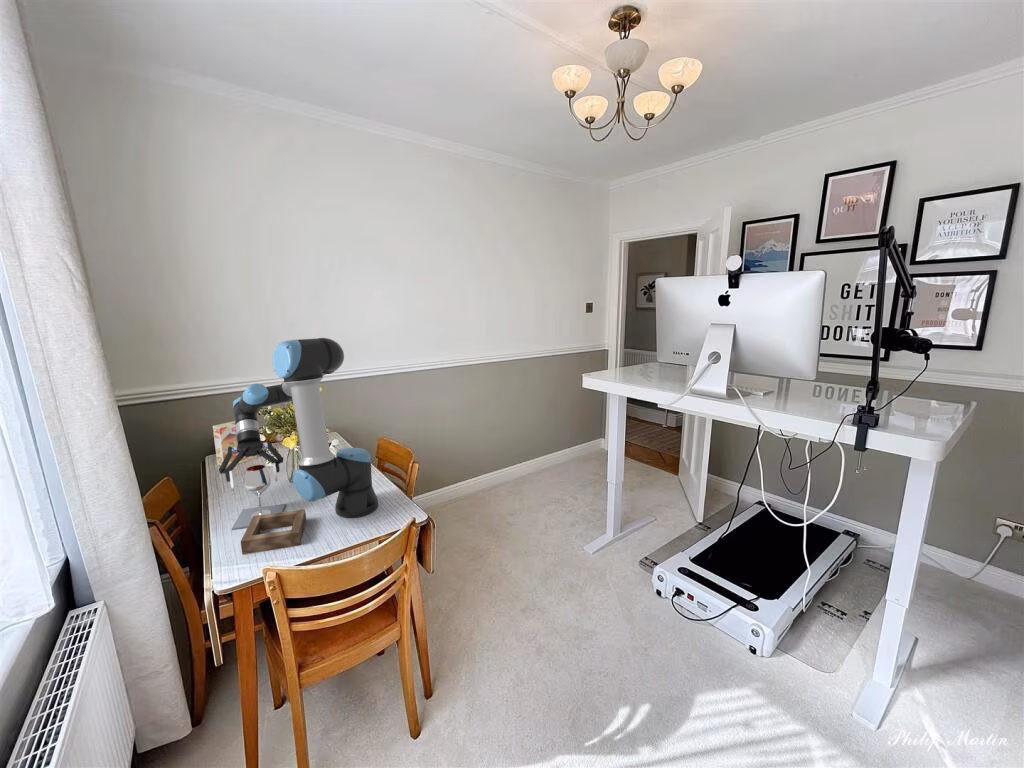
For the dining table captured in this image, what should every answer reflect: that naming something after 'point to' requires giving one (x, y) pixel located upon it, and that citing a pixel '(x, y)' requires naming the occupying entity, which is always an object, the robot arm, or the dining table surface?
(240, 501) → the dining table surface
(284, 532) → the frame
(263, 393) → the robot arm
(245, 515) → the mat
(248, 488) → the wineglass
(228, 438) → the coffeecake box
